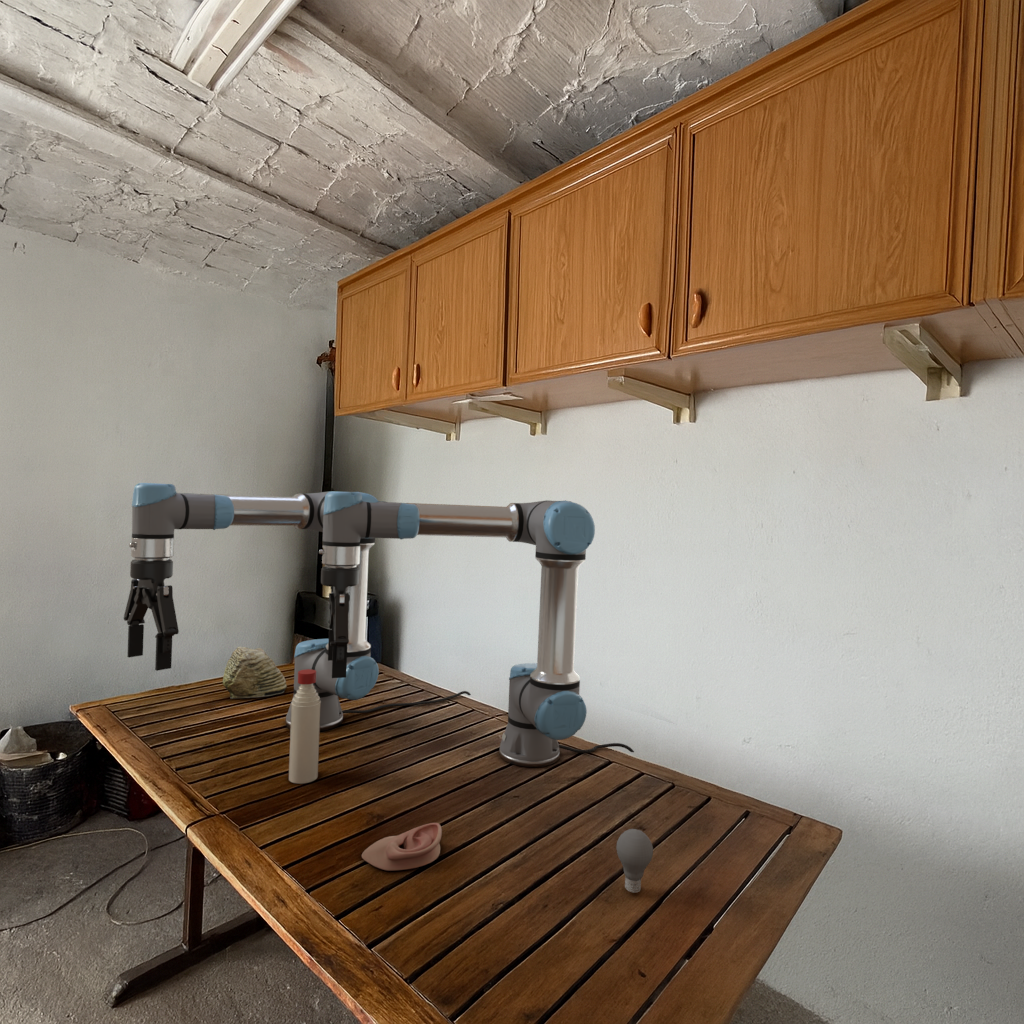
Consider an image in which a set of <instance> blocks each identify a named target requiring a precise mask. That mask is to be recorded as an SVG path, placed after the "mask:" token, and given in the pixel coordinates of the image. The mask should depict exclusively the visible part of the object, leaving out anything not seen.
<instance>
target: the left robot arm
mask: <svg viewBox="0 0 1024 1024" xmlns="http://www.w3.org/2000/svg"><path fill="white" fill-rule="evenodd" d="M331 491H332V490H330V491H321V492H311V493H295V494H294V495H293V496H276V495H275V496H274V495H248V494H247V495H246V494H220V493H219V494H218V493H189V492H187V493H186V492H177V490H176V486H175V485H174V484H173V483H155V482H138V483H137V484H135V485H134V488H133V492H132V501H131V520H132V521H131V542H130V543H128V547H129V548H130V549H131V550H130V556H131V558H133V559H132V560H131V561H130V567H129V568H130V571H129V574H130V575H129V576H130V578H131V581H130V590H129V593H128V598H127V602H126V606H125V610H124V615H123V621H124V622H126V624H127V626H128V629H127V630H128V631H127V658H135V657H142V656H144V635H145V634H144V630H145V625H144V624H145V623H146V621H145V619H144V618H145V616H146V615H147V612H148V609H149V610H151V613H152V616H153V620H154V624H155V627H156V631H157V633H156V634H155V636H154V638H155V661H154V663H155V665H154V668H155V669H154V670H155V671H164V670H168V669H172V659H173V657H172V655H173V637H174V636H175V635H179V632H180V631H179V625H178V619H177V613H176V608H175V603H174V597H173V595H174V593H173V585H165V580H166V579H171V578H172V577H173V575H174V573H173V572H174V561H173V560H172V559H171V558H173V557H174V554H175V553H174V552H175V530H213V531H215V530H224V529H227V528H229V527H230V526H268V527H269V526H276V527H277V526H282V527H283V526H285V527H286V526H287V527H288V526H289V527H290V526H291V527H293V528H294V529H296V530H308V531H309V530H310V531H316V532H319V533H323V512H324V502H325V495H326V494H327V493H328V492H331ZM336 491H337V490H336ZM337 492H339V491H337ZM358 492H359V493H361V495H362V499H363V502H370V503H376V502H378V501H379V500H378V498H377V497H375V495H373V494H370V493H367V492H363V491H362V492H361V491H358ZM375 544H376V538H360V563H359V565H357V567H358V569H359V583H358V584H357V585H356V586H352V587H350V586H348V587H346V593H349V595H350V602H349V613H348V639H349V643H348V644H347V668H346V678H332V660H331V661H328V643H329V638H317V639H308V640H304V641H300V642H299V643H297V645H296V646H295V650H294V655H293V657H294V672H293V673H294V674H293V695H292V696H293V697H292V699H293V698H294V697H295V694H296V693H297V690H299V687H300V685H301V684H299V683H298V671H300V670H306V669H311V670H316V682H315V683H313V686H315V689H316V692H317V693H318V696H319V697H320V701H321V707H320V732H325V731H329V730H332V729H335V728H337V727H339V726H340V725H342V723H343V722H344V714H367V713H368V714H369V713H372V712H375V711H378V710H380V709H385V708H392V707H409V706H420V705H421V706H422V705H429V704H436V703H441V702H444V701H447V700H451V699H455V698H457V697H460V696H461V695H464V694H465V695H467V696H472V694H471V692H469V691H467V690H463V691H460V692H458V693H456V694H453V695H449V696H446V697H442V698H438V699H433V700H426V701H416V702H414V701H413V702H401V703H389V704H388V703H387V704H382V705H379V706H375V707H372V708H369V709H362V710H361V709H359V710H358V709H346V710H343V709H342V706H341V702H340V699H339V698H341V699H342V700H343V699H344V700H348V701H349V700H350V701H357V700H360V699H362V698H364V697H365V696H367V695H368V694H370V692H371V690H372V689H374V687H375V685H376V683H377V682H378V678H379V674H380V672H379V671H380V670H379V669H380V668H379V665H378V663H377V662H376V660H375V659H374V657H371V652H372V649H371V648H372V644H371V643H370V642H368V640H367V639H366V631H367V607H368V606H367V605H368V604H367V602H368V582H369V581H368V579H369V555H370V550H371V548H372V547H374V545H375ZM291 703H292V701H291V702H290V704H289V708H288V711H287V713H286V715H285V726H286V728H287V729H289V730H290V725H291Z"/></svg>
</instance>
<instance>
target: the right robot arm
mask: <svg viewBox="0 0 1024 1024" xmlns="http://www.w3.org/2000/svg"><path fill="white" fill-rule="evenodd" d="M330 491H331V492H330ZM330 491H327V492H328V493H327V494H326V495H325V502H324V512H323V532H322V548H323V549H319V551H318V554H319V555H322V556H321V560H322V561H321V564H323V565H324V566H322V568H321V571H320V584H321V585H323V586H324V587H330V592H329V593H328V602H329V604H328V607H329V608H328V609H329V617H328V618H329V619H328V628H329V629H328V639H329V643H328V661H331V660H332V678H346V668H347V644H348V643H349V639H348V613H349V602H350V595H349V593H346V587H348V586H350V587H352V586H356V585H357V584H358V583H359V569H358V567H357V565H359V563H360V538H375V539H394V540H395V539H397V540H398V539H399V540H404V539H409V540H410V539H415V538H416V537H417V536H434V537H435V536H436V537H467V538H468V537H470V538H505V539H506V540H507V541H508V542H509V543H523V544H528V545H531V546H532V545H533V546H535V560H536V561H537V562H538V563H539V564H540V567H541V568H540V569H541V571H540V588H539V589H540V590H539V592H540V593H539V613H538V614H539V615H538V636H537V637H538V638H537V639H538V640H537V659H536V662H526V663H517V664H515V665H513V666H512V667H511V668H510V672H509V677H508V681H509V683H508V685H509V686H508V706H507V707H508V709H507V724H506V727H505V730H504V731H503V733H502V735H501V741H500V743H499V751H498V752H499V753H498V754H499V757H500V758H501V759H502V760H504V761H505V762H507V763H509V764H511V765H514V766H519V767H526V768H540V767H541V768H542V767H547V766H550V765H553V764H556V762H558V761H559V759H560V754H561V752H560V749H562V750H566V751H570V752H572V753H577V754H591V753H593V752H595V751H596V750H599V749H605V748H613V747H619V748H624V749H626V750H628V751H629V752H630V753H635V750H634V749H633V748H631V747H630V746H628V745H627V744H625V743H620V742H613V743H611V742H610V743H603V744H597V745H595V746H593V747H592V748H588V749H577V748H573V747H570V746H566V745H563V744H559V741H562V740H567V739H569V738H571V737H573V736H575V735H576V733H577V732H578V731H580V730H581V729H582V727H583V726H584V723H585V721H586V719H587V713H588V711H587V705H586V702H585V700H584V699H583V697H582V696H581V695H580V690H581V689H580V688H581V687H580V685H581V676H580V675H579V674H578V673H577V672H576V671H575V651H576V650H575V649H576V629H577V628H576V627H577V610H578V609H577V606H578V586H579V585H578V584H579V569H580V566H581V565H582V564H584V563H585V562H586V555H587V549H588V548H589V547H590V545H592V543H593V541H594V538H595V534H596V525H595V521H594V518H593V516H592V514H591V513H590V511H588V509H587V508H586V507H585V506H583V505H581V504H580V503H577V502H574V501H570V500H547V499H546V500H539V501H532V502H510V503H509V504H508V505H506V506H496V505H495V506H494V505H469V504H447V503H446V504H443V503H441V504H440V503H419V502H416V503H415V502H393V501H385V500H383V501H382V500H380V501H379V500H378V502H376V503H370V502H363V499H362V495H361V493H359V492H360V491H338V492H337V490H336V491H335V490H333V491H332V490H330Z"/></svg>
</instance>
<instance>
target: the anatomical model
mask: <svg viewBox="0 0 1024 1024" xmlns="http://www.w3.org/2000/svg"><path fill="white" fill-rule="evenodd" d="M442 835H443V829H442V826H441V824H440V823H439V822H430V823H425V824H422V825H419V826H417V827H414V828H412V829H410V830H407V831H404V832H402V833H399V834H397V835H389V836H385V837H383V838H381V839H379V840H377V841H375V842H373V843H372V844H370V845H369V846H368V847H367V848H366V849H364V851H362V852H361V853H362V854H361V858H362V859H363V861H365V862H366V863H368V864H370V865H371V866H373V867H375V868H377V869H379V870H384V871H387V872H389V871H390V872H391V871H403V870H412V869H416V868H419V867H423V866H426V865H428V864H431V863H433V862H434V861H435V860H437V859H439V856H440V855H441V844H440V842H441V839H442Z"/></svg>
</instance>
